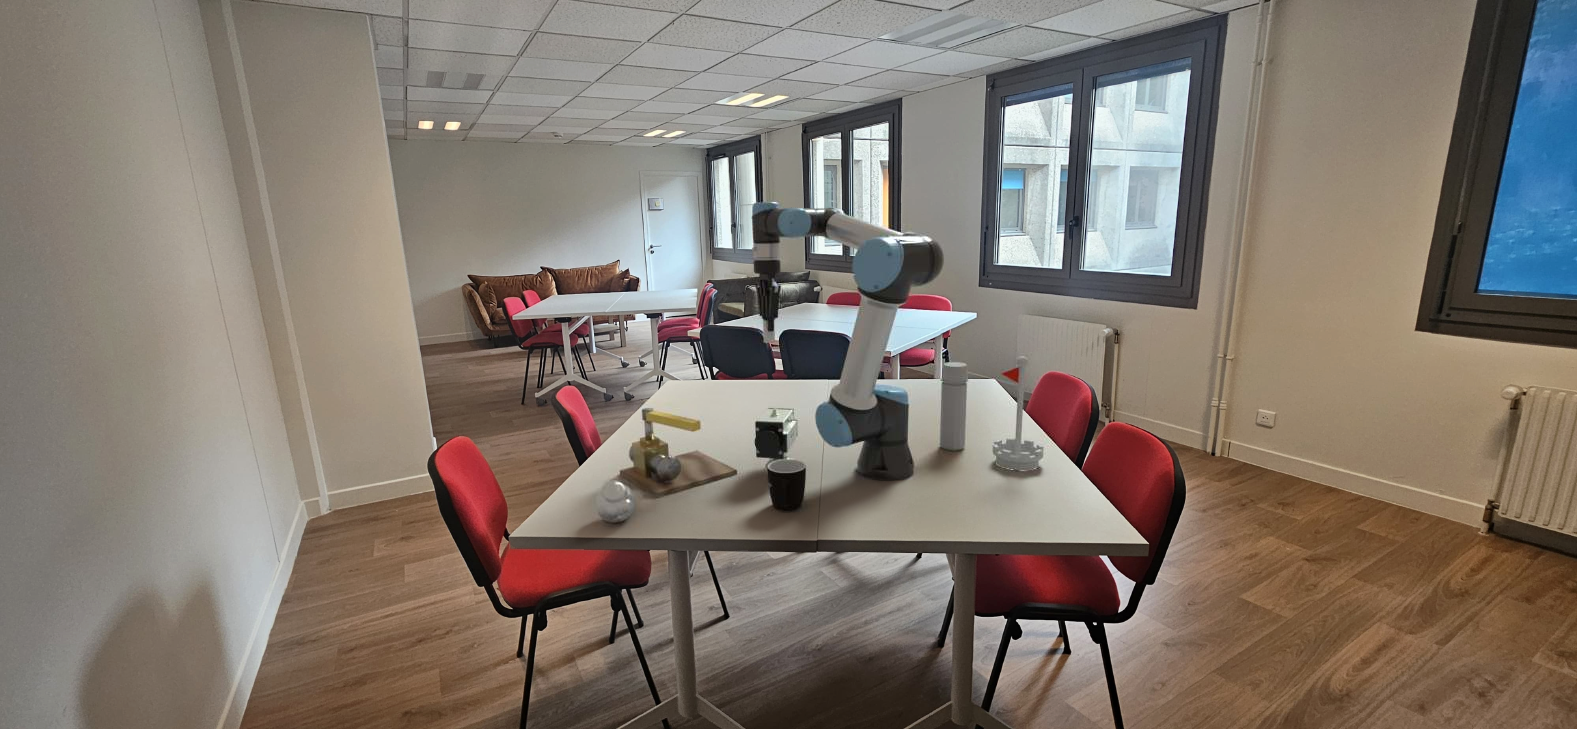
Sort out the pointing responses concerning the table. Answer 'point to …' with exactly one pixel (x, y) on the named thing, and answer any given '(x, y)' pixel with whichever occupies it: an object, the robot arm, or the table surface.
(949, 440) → the water bottle
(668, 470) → the valve body
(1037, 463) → the flag stand
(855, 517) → the table surface
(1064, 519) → the table surface
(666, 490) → the walnut board
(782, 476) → the mug
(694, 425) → the valve lever
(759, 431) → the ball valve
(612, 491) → the round lidded jar
